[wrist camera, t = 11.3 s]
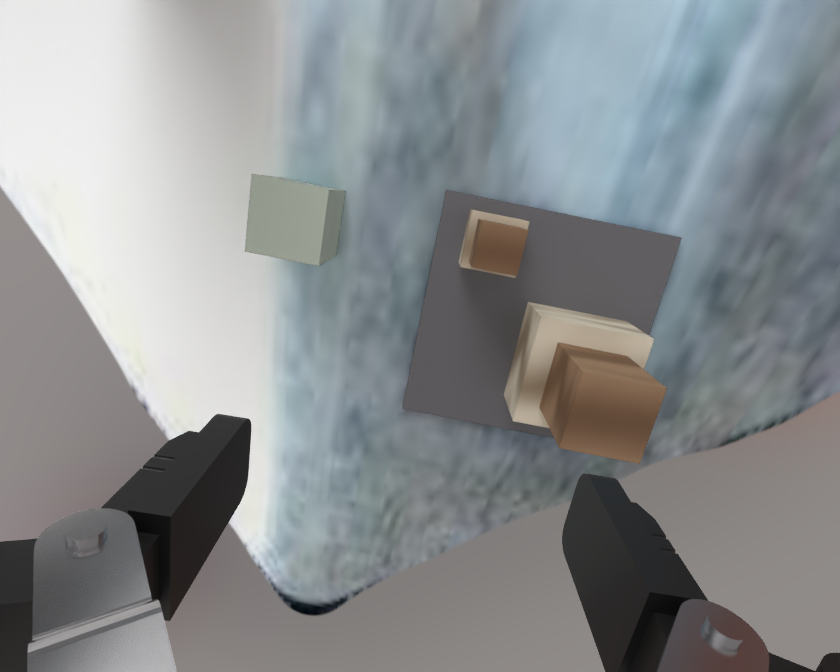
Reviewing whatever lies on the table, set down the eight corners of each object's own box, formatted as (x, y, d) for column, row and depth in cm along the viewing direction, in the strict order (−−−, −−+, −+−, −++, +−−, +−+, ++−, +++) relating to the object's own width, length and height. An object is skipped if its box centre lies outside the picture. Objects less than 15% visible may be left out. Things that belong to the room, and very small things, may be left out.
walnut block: (557, 342, 34) (582, 371, 28) (627, 356, 34) (666, 388, 28) (539, 407, 35) (559, 448, 29) (606, 420, 35) (639, 463, 29)
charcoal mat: (446, 190, 37) (446, 190, 36) (677, 237, 37) (681, 237, 36) (403, 405, 42) (402, 408, 41) (607, 445, 42) (610, 448, 41)
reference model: (469, 209, 36) (476, 211, 31) (522, 219, 36) (538, 223, 31) (458, 261, 37) (462, 273, 32) (509, 271, 38) (522, 285, 32)
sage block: (280, 177, 37) (251, 174, 31) (345, 190, 37) (328, 189, 31) (273, 243, 38) (244, 251, 32) (336, 255, 38) (318, 266, 33)
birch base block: (527, 301, 38) (541, 316, 33) (626, 321, 38) (654, 339, 33) (503, 394, 40) (512, 421, 36) (597, 412, 40) (619, 441, 36)
